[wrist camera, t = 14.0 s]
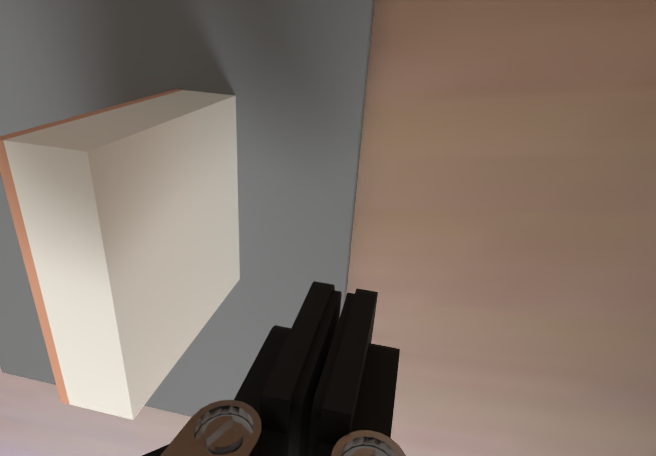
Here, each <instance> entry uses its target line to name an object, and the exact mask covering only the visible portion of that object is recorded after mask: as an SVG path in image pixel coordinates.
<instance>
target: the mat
mask: <svg viewBox="0 0 656 456" xmlns="http://www.w3.org/2000/svg"><path fill="white" fill-rule="evenodd" d="M373 11H374V0H0V136H3V135H7V134H11V133H14V132H18V131H22V130H26V129H29V128H33V127H37V126H40V125H44V124H48V123H52V122H55V121H59V120H63V119H67V118H70V117H74V116H78V115H82V114H85V113H89V112H93V111H96V110H100V109H104V108H108V107H111V106H115V105H119V104H123V103H126V102H130V101H134V100H138V99H141V98H145V97H149V96H152V95H156V94H160V93H164V92H167V91H171V90H175V89H180V90H189V91H198V92H207V93H217V94H226V95H235V96H236V130H237V174H238V218H239V262H240V279H239V281H238V282H237V283H236V285H235V286H234V287H233V289H232V290H231V291H230V293H229V294H228V295H227V297H226V298H225V299H224V301H223V302H222V303H221V305H220V306H219V307H218V308H217V310H216V311H215V312H214V314H213V315H212V316H211V318H210V319H209V320H208V322H207V323H206V324H205V326H204V327H203V328H202V330H201V331H200V332H199V334H198V335H197V336H196V338H195V339H194V340H193V342H192V343H191V344H190V345H189V347H188V348H187V349H186V351H185V352H184V353H183V355H182V356H181V357H180V359H179V360H178V361H177V363H176V364H175V365H174V367H173V368H172V369H171V371H170V372H169V373H168V375H167V376H166V377H165V379H164V380H163V381H162V382H161V384H160V385H159V386H158V388H157V389H156V390H155V392H154V393H153V394H152V396H151V397H150V398H149V400H148V401H147V402H146V404H145V405H144V406H148V407H153V408H157V409H161V410H165V411H170V412H174V413H178V414H182V415H187V416H191V417H192V416H193V415H194V414H196V413H197V412H198V411H199V410H200V409H201V408H203V407H205V406H207V405H208V404H210V403H213V402H217V401H221V400H234V398H235V397H236V395H237V393H238V391H239V389H240V387H241V385H242V383H243V381H244V380H245V378H246V376H247V374H248V372H249V370H250V368H251V366H252V364H253V362H254V361H255V359H256V357H257V355H258V353H259V351H260V349H261V347H262V345H263V344H264V342H265V340H266V338H267V336H268V334H269V332H270V330H271V329H272V327H273V326H275V325H277V326H282V327H287V328H292V326H293V324H294V322H295V319H296V317H297V315H298V313H299V311H300V309H301V306H302V304H303V302H304V300H305V298H306V296H307V294H308V291H309V289H310V287H311V285H312V283H313V282H314V281H316V282H322V283H328V284H333V285H335V291H341V292H342V296H341V307H340V315H341V311H342V308H343V305H344V302H345V299H346V292H347V282H348V271H349V261H350V250H351V240H352V230H353V219H354V209H355V198H356V188H357V177H358V167H359V157H360V146H361V136H362V125H363V115H364V105H365V94H366V84H367V73H368V63H369V52H370V42H371V32H372V21H373ZM0 366H1V369H2V372H4V373H8V374H12V375H16V376H21V377H25V378H29V379H33V380H38V381H42V382H46V383H50V384H55V385H56V382H55V378H54V375H53V371H52V367H51V363H50V359H49V355H48V352H47V348H46V344H45V340H44V336H43V333H42V329H41V325H40V321H39V317H38V314H37V310H36V306H35V302H34V298H33V294H32V291H31V287H30V283H29V279H28V275H27V272H26V268H25V264H24V260H23V256H22V253H21V249H20V245H19V241H18V237H17V233H16V230H15V226H14V222H13V218H12V214H11V211H10V207H9V203H8V199H7V195H6V192H5V188H4V184H3V180H2V176H1V172H0Z"/></svg>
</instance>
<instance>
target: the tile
mask: <svg viewBox="0 0 656 456" xmlns="http://www.w3.org/2000/svg"><path fill="white" fill-rule="evenodd" d="M0 172H1V176H2V180H3V184H4V188H5V192H6V195H7V199H8V203H9V207H10V211H11V214H12V218H13V222H14V226H15V230H16V233H17V237H18V241H19V245H20V249H21V253H22V256H23V260H24V264H25V268H26V272H27V275H28V279H29V283H30V287H31V291H32V294H33V298H34V302H35V306H36V310H37V314H38V317H39V321H40V325H41V329H42V333H43V336H44V340H45V344H46V348H47V352H48V355H49V359H50V363H51V367H52V371H53V375H54V378H55V382H56V386H57V390H58V394H59V397H60V401H61V402H62V403H66V404H70V405H75V406H79V407H83V408H87V409H91V410H95V411H99V412H103V413H107V414H111V415H116V416H120V417H124V418H128V419H132V420H133V419H134V418H135V417H136V416H137V414H138V413H139V412H140V410H141V409H142V408H143V406H144V405H145V404H146V402H147V401H148V400H149V398H150V397H151V396H152V394H153V393H154V392H155V390H156V389H157V388H158V386H159V385H160V384H161V382H162V381H163V380H164V379H165V377H166V376H167V375H168V373H169V372H170V371H171V369H172V368H173V367H174V365H175V364H176V363H177V361H178V360H179V359H180V357H181V356H182V355H183V353H184V352H185V351H186V349H187V348H188V347H189V345H190V344H191V343H192V342H193V340H194V339H195V338H196V336H197V335H198V334H199V332H200V331H201V330H202V328H203V327H204V326H205V324H206V323H207V322H208V320H209V319H210V318H211V316H212V315H213V314H214V312H215V311H216V310H217V308H218V307H219V306H220V305H221V303H222V302H223V301H224V299H225V298H226V297H227V295H228V294H229V293H230V291H231V290H232V289H233V287H234V286H235V285H236V283H237V282H238V281H239V279H240V262H239V218H238V174H237V130H236V96H235V95H226V94H217V93H207V92H198V91H189V90H180V89H175V90H171V91H167V92H164V93H160V94H156V95H152V96H149V97H145V98H141V99H138V100H134V101H130V102H126V103H123V104H119V105H115V106H111V107H108V108H104V109H100V110H96V111H93V112H89V113H85V114H82V115H78V116H74V117H70V118H67V119H63V120H59V121H55V122H52V123H48V124H44V125H40V126H37V127H33V128H29V129H26V130H22V131H18V132H14V133H11V134H7V135H3V136H0Z"/></svg>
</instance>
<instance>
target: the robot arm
mask: <svg viewBox="0 0 656 456" xmlns="http://www.w3.org/2000/svg"><path fill="white" fill-rule="evenodd" d="M377 294H378V292H374V291H368V290H362V289H356V292H355V294H352V293H347V296H346V299H345V302H344V305H343V308H342V311H341V315H340V307H341V296H342V292H341V291H335V285H333V284H328V283H322V282H316V281H314V282H313V283H312V285H311V287H310V289H309V291H308V294H307V296H306V298H305V300H304V302H303V304H302V306H301V309H300V311H299V313H298V315H297V317H296V319H295V322H294V324H293V326H292V328H287V327H282V326H277V325H275V326H273V327H272V329H271V330H270V332H269V334H268V336H267V338H266V340H265V342H264V344H263V345H262V347H261V349H260V351H259V353H258V355H257V357H256V359H255V361H254V362H253V364H252V366H251V368H250V370H249V372H248V374H247V376H246V378H245V380H244V381H243V383H242V385H241V387H240V389H239V391H238V393H237V395H236V397H235V398H234V400H221V401H217V402H213V403H210V404H208V405H207V406H205V407H203V408H201V409H200V410H199V411H198V412H197V413H196V414H194V415H193V416H192V418H191V419H190V420H189V421H188V422H187V424H186V425H185V426H184V427H183V429H182V430H181V431H180V432H179V433H178V435H177V436H176V437H175V438H174V439H173V441H172V442H171V443H170V444H169V445H166V446H164V447H162V448H159V449H157V450H155V451H152V452H150V453H147V454H145V455H143V456H406V455H405V454H404V452H403V451H402V449H401V448H400V446H399V445H398V444H397V443H395V442H394V441H393V440H392V439H391V438H390V437H391V428H392V418H393V409H394V399H395V390H396V381H397V371H398V362H399V352H400V349H396V348H391V347H386V346H381V345H376V344H371V340H372V332H373V325H374V317H375V310H376V302H377Z"/></svg>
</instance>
